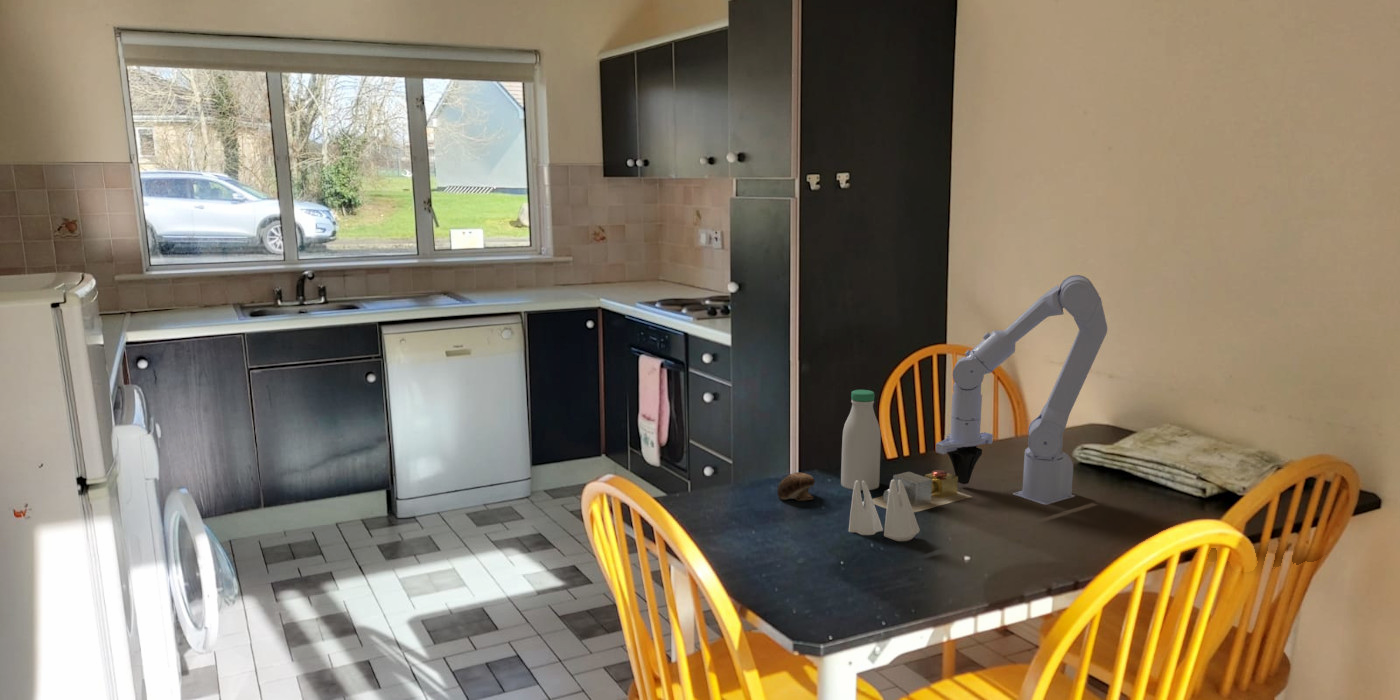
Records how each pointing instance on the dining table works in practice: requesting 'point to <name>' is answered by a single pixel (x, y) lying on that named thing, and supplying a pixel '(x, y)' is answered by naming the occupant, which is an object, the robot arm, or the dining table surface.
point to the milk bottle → (861, 443)
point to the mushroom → (796, 487)
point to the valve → (943, 483)
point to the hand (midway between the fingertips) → (962, 482)
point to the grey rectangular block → (913, 488)
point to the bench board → (934, 503)
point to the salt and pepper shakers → (897, 514)
